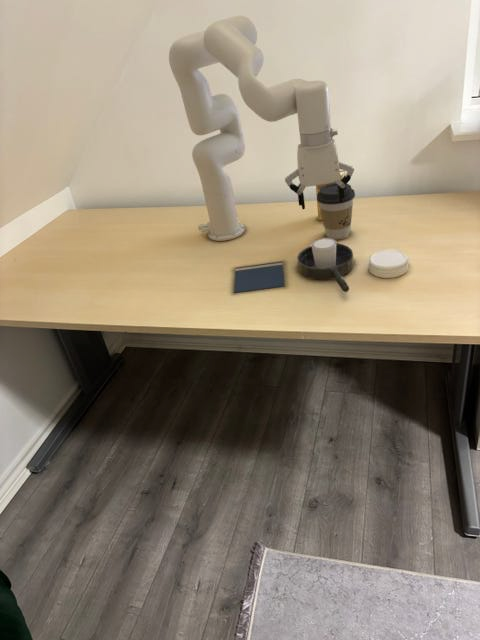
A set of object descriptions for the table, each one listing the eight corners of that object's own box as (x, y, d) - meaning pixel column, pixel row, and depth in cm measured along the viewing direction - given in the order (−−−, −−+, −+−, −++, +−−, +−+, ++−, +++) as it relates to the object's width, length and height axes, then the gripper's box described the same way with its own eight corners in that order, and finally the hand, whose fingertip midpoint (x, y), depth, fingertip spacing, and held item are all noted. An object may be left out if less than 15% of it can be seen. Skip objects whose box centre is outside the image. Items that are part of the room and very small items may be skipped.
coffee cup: (339, 246, 149) (337, 198, 141) (312, 237, 157) (307, 191, 148) (364, 231, 154) (363, 184, 146) (336, 223, 162) (333, 178, 154)
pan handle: (329, 272, 133) (329, 266, 132) (336, 271, 134) (335, 265, 133) (343, 293, 124) (342, 287, 123) (350, 292, 124) (350, 286, 123)
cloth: (234, 293, 137) (233, 292, 137) (235, 268, 149) (235, 267, 148) (284, 286, 135) (284, 285, 135) (282, 262, 147) (282, 261, 147)
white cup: (335, 257, 143) (333, 235, 139) (340, 269, 137) (338, 246, 134) (311, 261, 144) (309, 240, 140) (315, 273, 138) (313, 251, 134)
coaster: (392, 256, 139) (392, 245, 137) (415, 270, 131) (416, 259, 129) (361, 267, 137) (361, 256, 135) (383, 283, 129) (383, 271, 127)
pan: (300, 283, 135) (299, 272, 133) (296, 257, 148) (295, 247, 146) (357, 276, 134) (357, 265, 132) (348, 250, 146) (348, 239, 144)
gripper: (349, 127, 123) (353, 194, 132) (279, 139, 125) (288, 204, 134) (354, 135, 116) (357, 204, 126) (280, 148, 119) (289, 215, 128)
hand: (321, 204), depth 130 cm, fingers open, 9 cm apart
